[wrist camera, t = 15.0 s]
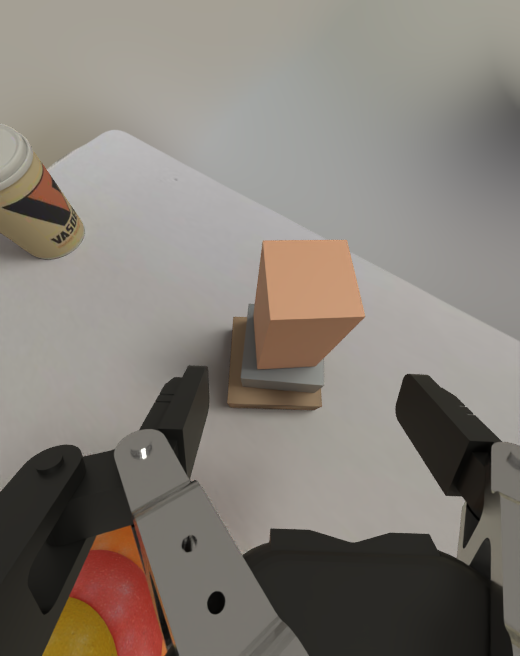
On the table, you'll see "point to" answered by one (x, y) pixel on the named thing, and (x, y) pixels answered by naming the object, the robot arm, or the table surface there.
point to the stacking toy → (109, 605)
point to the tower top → (276, 369)
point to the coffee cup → (33, 202)
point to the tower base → (259, 396)
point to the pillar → (304, 301)
